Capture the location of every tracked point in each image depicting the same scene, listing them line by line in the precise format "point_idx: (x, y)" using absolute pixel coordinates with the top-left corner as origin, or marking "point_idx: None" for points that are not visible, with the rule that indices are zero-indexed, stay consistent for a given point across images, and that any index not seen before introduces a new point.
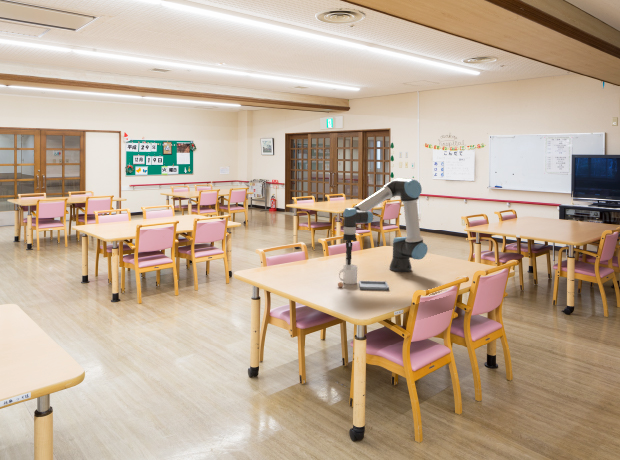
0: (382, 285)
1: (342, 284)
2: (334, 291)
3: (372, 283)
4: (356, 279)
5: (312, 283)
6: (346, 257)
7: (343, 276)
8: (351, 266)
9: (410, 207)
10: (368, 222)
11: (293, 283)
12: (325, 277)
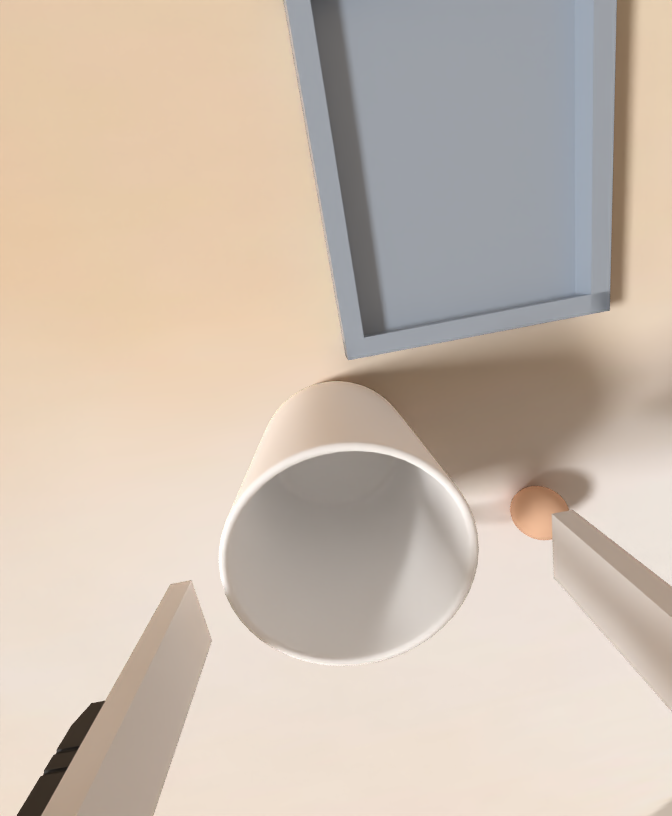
0: (408, 29)
1: (558, 496)
2: (658, 520)
3: (341, 186)
4: (358, 389)
5: (441, 706)
6: (146, 812)
7: (372, 542)
8: (235, 542)
9: None
10: None
11: (469, 800)
12: (217, 669)
